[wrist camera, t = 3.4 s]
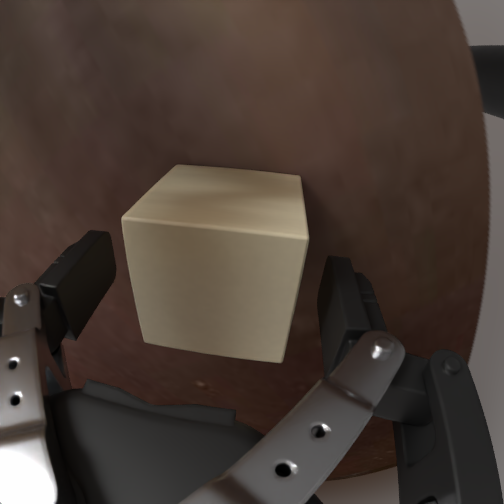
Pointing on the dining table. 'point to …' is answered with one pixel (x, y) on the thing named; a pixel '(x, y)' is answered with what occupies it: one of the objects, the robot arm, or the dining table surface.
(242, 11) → the dining table surface
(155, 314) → the block
